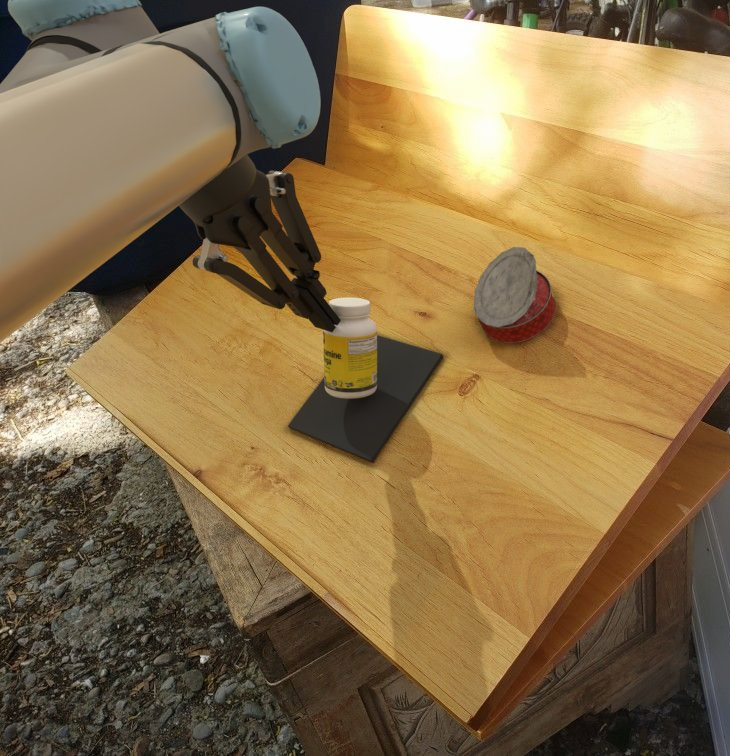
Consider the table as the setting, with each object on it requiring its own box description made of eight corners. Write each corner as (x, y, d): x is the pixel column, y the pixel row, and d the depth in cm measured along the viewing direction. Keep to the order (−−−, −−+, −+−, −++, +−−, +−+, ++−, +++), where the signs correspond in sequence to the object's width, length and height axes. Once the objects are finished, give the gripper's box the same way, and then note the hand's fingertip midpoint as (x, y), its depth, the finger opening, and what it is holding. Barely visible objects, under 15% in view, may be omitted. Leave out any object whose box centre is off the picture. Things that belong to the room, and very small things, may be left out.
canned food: (556, 351, 86) (542, 336, 76) (480, 347, 89) (457, 333, 79) (563, 264, 87) (549, 239, 78) (488, 263, 90) (465, 238, 80)
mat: (372, 463, 78) (370, 460, 78) (289, 428, 85) (287, 425, 85) (443, 356, 85) (442, 353, 84) (361, 332, 92) (359, 329, 91)
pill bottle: (317, 386, 83) (314, 297, 79) (365, 380, 86) (364, 294, 83) (335, 403, 78) (333, 309, 75) (385, 395, 81) (385, 305, 78)
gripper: (214, 103, 63) (336, 274, 81) (115, 204, 57) (270, 362, 76) (269, 108, 59) (384, 286, 78) (169, 216, 54) (317, 379, 72)
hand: (327, 323), depth 77 cm, fingers closed
